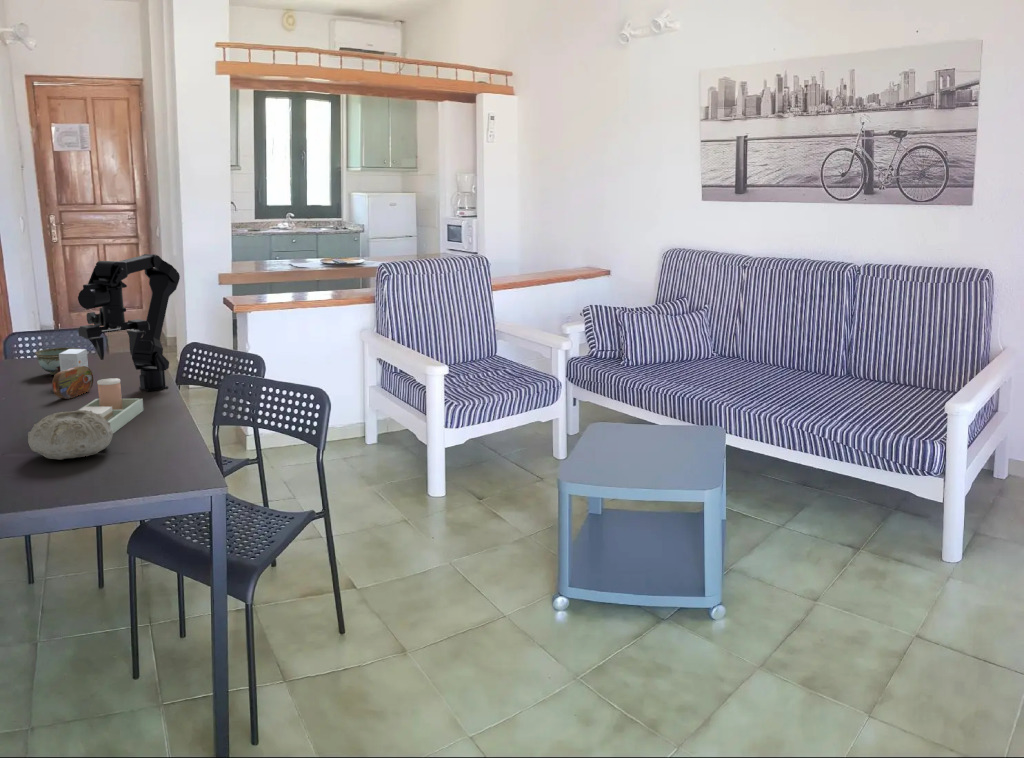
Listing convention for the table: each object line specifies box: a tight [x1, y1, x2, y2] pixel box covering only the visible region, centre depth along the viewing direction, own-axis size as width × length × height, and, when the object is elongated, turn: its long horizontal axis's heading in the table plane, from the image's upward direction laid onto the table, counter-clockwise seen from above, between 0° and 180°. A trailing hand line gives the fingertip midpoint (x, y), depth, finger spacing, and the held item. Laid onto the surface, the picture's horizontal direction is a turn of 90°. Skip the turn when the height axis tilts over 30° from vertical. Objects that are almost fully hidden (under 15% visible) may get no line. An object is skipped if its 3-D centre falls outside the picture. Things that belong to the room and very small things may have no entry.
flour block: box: [79, 406, 113, 421], centre depth 218 cm, size 7×7×5 cm
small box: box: [59, 348, 89, 371], centre depth 268 cm, size 8×6×10 cm
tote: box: [78, 398, 144, 434], centre depth 224 cm, size 24×13×4 cm, turn 5°
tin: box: [51, 366, 94, 400], centre depth 253 cm, size 15×3×8 cm, turn 168°
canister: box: [96, 377, 123, 410], centre depth 229 cm, size 6×6×10 cm
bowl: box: [34, 347, 80, 376], centre depth 280 cm, size 14×13×8 cm
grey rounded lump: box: [27, 409, 114, 461], centre depth 199 cm, size 18×18×10 cm
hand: (117, 357), depth 247 cm, fingers open, 9 cm apart
